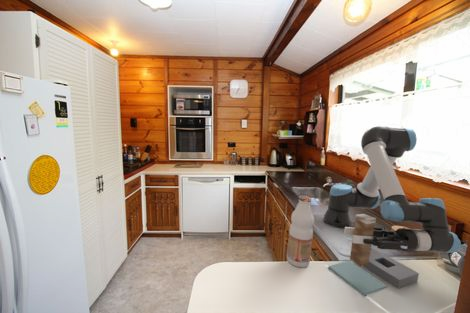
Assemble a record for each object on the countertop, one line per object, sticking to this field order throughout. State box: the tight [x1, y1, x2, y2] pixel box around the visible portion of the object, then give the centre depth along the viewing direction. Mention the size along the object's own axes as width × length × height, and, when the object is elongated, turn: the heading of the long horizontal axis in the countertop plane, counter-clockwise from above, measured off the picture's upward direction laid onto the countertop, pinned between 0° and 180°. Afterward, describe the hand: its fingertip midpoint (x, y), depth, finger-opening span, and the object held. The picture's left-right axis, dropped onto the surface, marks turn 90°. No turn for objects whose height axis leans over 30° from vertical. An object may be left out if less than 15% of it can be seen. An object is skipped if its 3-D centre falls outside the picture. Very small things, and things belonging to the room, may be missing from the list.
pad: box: [327, 260, 388, 297], centre depth 87 cm, size 16×12×1 cm
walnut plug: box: [349, 213, 377, 267], centre depth 85 cm, size 5×5×18 cm
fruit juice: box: [286, 195, 315, 268], centre depth 94 cm, size 9×9×28 cm
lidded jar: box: [390, 225, 410, 232], centre depth 116 cm, size 11×11×9 cm
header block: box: [362, 248, 420, 289], centre depth 92 cm, size 18×12×4 cm, turn 24°
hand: (349, 234), depth 85 cm, fingers closed on walnut plug, 6 cm apart
